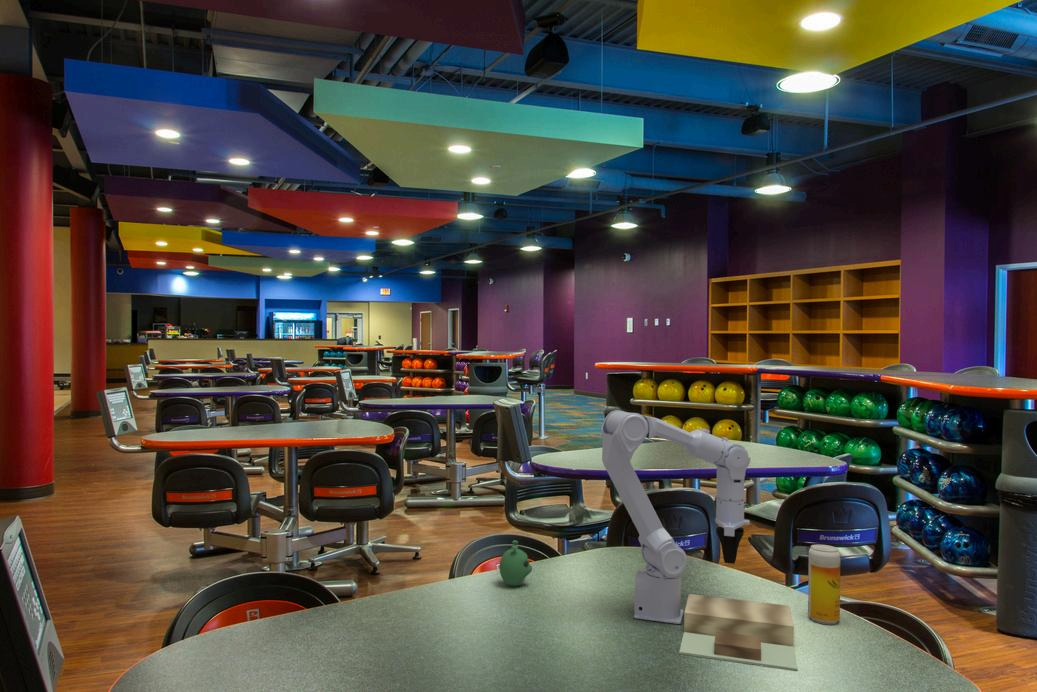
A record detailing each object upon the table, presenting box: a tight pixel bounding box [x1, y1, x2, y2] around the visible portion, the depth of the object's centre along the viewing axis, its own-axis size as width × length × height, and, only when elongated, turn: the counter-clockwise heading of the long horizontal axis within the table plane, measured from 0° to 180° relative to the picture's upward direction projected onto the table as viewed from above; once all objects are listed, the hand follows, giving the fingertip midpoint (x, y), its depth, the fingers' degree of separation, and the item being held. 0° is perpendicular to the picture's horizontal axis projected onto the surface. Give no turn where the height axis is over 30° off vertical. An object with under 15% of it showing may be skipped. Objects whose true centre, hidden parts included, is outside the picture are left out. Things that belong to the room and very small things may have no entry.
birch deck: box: [683, 593, 795, 647], centre depth 140 cm, size 20×12×4 cm, turn 72°
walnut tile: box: [714, 631, 761, 661], centre depth 128 cm, size 8×6×2 cm
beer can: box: [807, 544, 841, 625], centre depth 147 cm, size 6×6×15 cm
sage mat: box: [678, 631, 798, 672], centre depth 129 cm, size 20×10×1 cm, turn 72°
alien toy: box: [499, 539, 533, 587], centre depth 165 cm, size 7×8×10 cm
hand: (729, 562), depth 151 cm, fingers closed
